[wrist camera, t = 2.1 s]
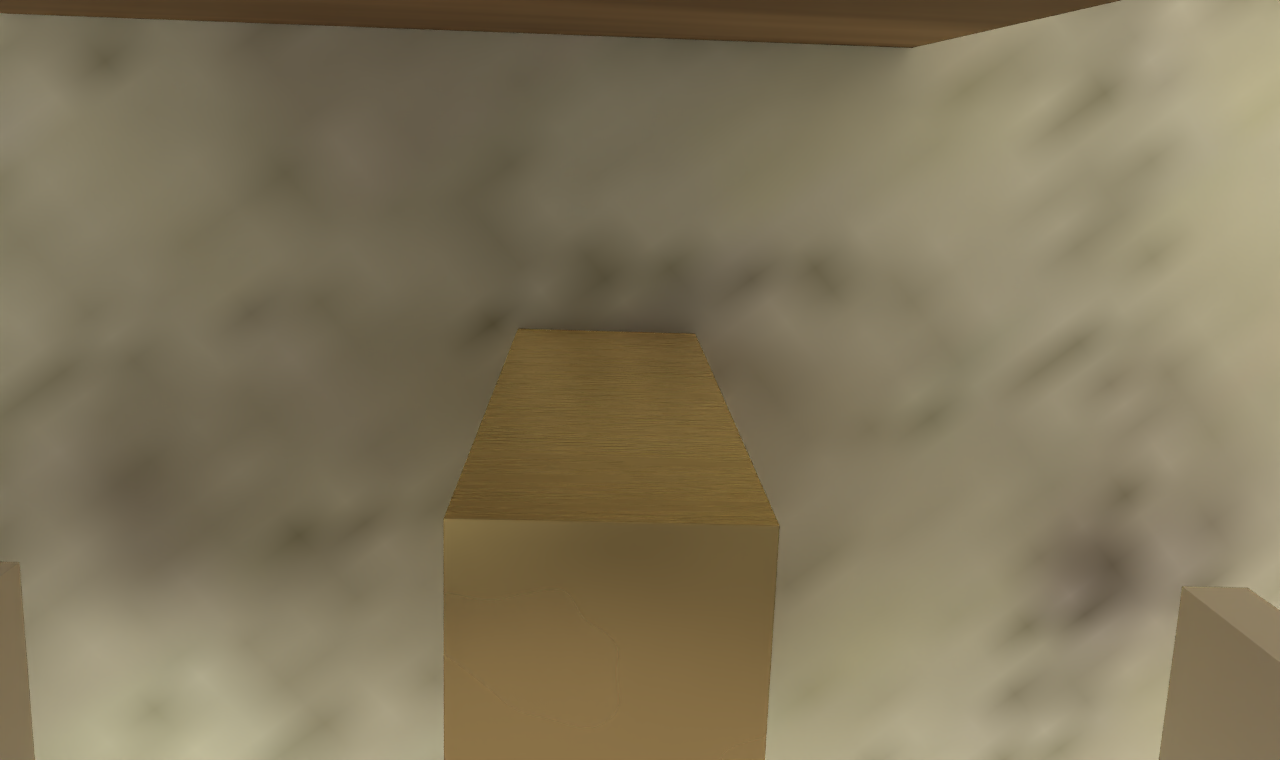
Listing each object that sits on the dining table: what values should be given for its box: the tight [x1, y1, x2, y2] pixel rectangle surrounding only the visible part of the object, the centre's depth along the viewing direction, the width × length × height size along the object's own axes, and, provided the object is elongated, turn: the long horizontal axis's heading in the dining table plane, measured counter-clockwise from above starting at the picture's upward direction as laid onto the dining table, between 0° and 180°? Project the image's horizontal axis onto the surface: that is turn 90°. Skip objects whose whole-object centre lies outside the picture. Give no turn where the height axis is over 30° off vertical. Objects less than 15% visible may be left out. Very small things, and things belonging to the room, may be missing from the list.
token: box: [443, 329, 780, 760], centre depth 13 cm, size 6×2×8 cm, turn 178°
